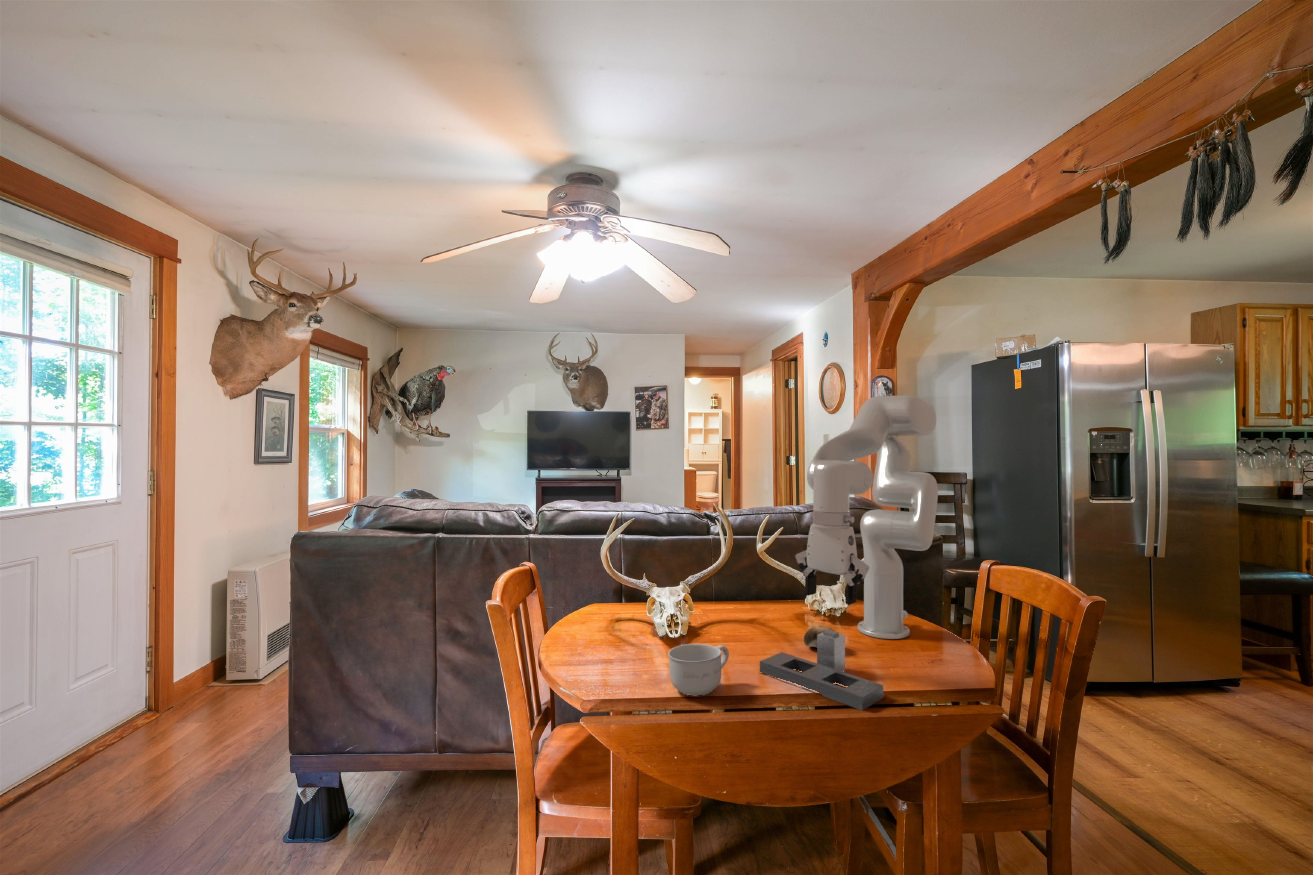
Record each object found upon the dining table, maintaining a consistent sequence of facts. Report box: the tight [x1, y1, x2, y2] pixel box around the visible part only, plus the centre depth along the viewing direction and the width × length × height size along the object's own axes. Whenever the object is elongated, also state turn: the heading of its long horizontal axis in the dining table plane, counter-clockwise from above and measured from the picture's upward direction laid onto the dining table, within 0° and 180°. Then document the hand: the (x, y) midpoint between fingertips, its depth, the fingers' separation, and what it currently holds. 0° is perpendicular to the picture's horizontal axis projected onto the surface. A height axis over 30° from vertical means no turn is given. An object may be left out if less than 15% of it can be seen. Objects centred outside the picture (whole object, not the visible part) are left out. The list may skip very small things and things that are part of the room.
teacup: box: [667, 643, 730, 696], centre depth 123 cm, size 14×11×8 cm
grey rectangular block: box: [816, 629, 846, 672], centre depth 132 cm, size 4×4×9 cm
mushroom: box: [803, 625, 835, 648], centre depth 145 cm, size 8×8×6 cm
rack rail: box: [759, 651, 884, 711], centre depth 125 cm, size 24×8×2 cm, turn 42°
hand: (830, 598), depth 131 cm, fingers open, 9 cm apart
